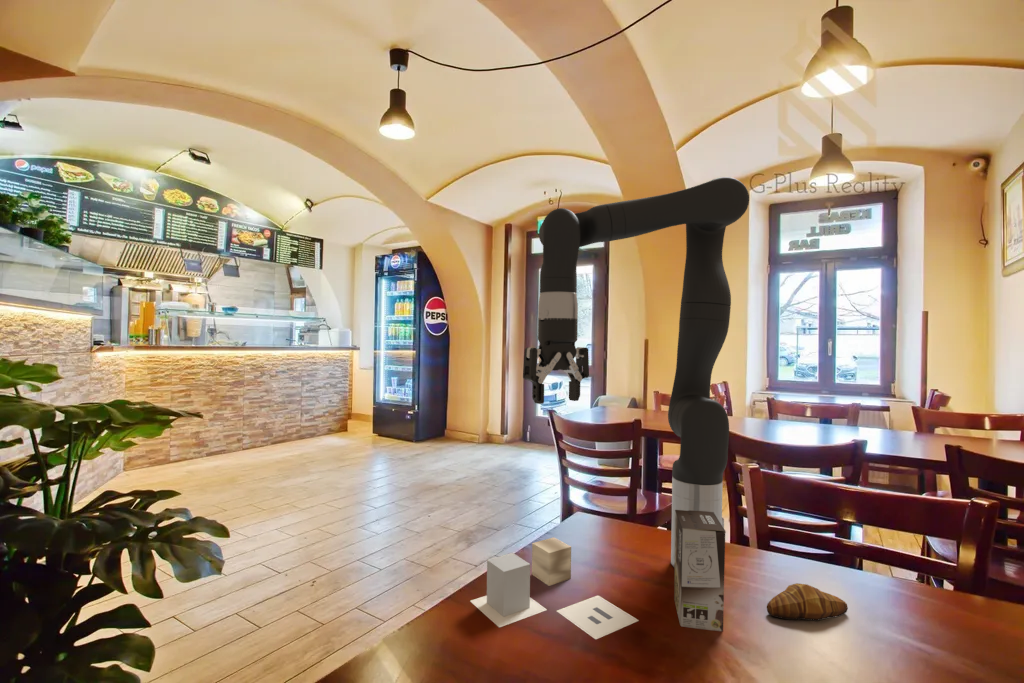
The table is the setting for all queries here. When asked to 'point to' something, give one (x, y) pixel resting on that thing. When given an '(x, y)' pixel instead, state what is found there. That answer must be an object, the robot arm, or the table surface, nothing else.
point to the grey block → (508, 584)
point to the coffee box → (699, 569)
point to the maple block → (551, 561)
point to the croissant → (805, 604)
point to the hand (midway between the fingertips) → (556, 401)
